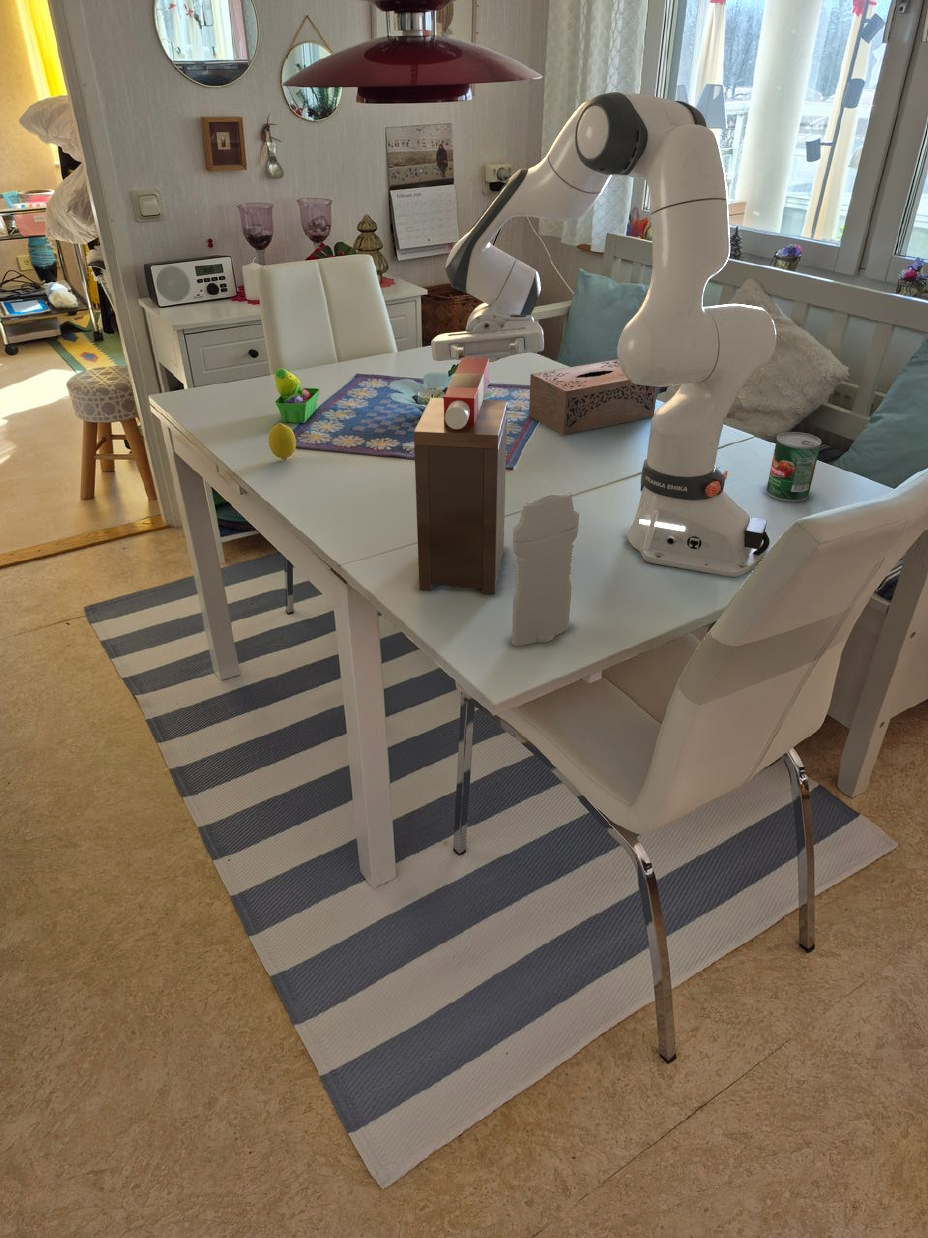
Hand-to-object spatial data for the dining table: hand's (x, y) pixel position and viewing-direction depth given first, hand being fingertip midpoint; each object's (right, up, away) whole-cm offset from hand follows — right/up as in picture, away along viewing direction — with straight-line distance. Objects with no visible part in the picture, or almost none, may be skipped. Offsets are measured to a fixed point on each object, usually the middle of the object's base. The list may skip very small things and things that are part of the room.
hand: (486, 352), depth 149 cm
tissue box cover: (+26, +2, +54) cm, 60 cm away
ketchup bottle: (-4, -14, -18) cm, 23 cm away
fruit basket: (-43, +2, +55) cm, 70 cm away
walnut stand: (-4, -38, -8) cm, 39 cm away
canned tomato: (+58, -22, +17) cm, 65 cm away
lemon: (-42, -13, +32) cm, 54 cm away
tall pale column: (+7, -49, -24) cm, 55 cm away
